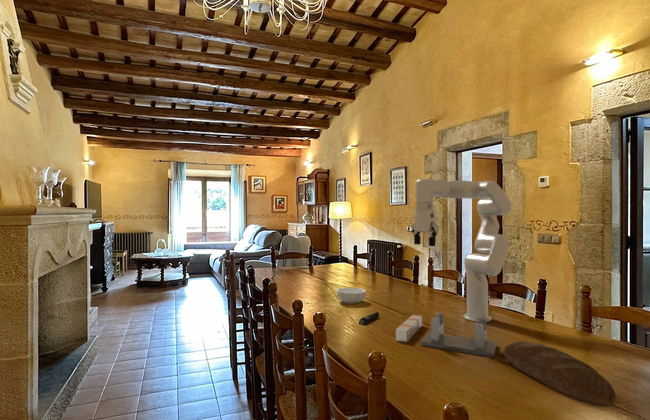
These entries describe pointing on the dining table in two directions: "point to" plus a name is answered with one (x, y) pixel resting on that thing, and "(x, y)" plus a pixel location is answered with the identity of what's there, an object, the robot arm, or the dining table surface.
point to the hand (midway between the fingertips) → (424, 245)
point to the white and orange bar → (408, 328)
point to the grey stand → (459, 339)
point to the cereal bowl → (351, 295)
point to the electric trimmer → (368, 318)
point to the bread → (560, 372)
